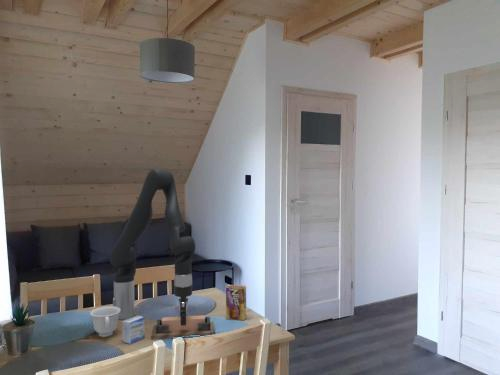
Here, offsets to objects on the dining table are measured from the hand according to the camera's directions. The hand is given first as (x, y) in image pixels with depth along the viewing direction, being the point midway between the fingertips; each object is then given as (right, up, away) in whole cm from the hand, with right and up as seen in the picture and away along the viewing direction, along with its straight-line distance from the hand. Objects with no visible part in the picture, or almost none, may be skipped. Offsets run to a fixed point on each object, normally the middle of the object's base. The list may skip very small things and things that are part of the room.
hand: (183, 321), depth 175 cm
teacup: (-32, -5, -3) cm, 32 cm away
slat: (0, -3, 0) cm, 3 cm away
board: (0, -5, 0) cm, 5 cm away
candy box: (+22, -4, +17) cm, 28 cm away
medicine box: (-19, -5, -8) cm, 21 cm away
